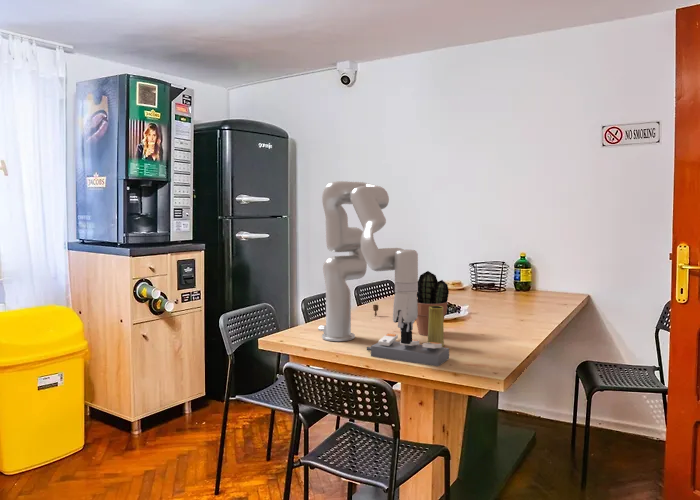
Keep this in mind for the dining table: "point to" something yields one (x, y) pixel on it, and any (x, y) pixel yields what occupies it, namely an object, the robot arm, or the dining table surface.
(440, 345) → the rocker right
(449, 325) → the dining table surface
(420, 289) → the potted plant
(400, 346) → the power strip
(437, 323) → the vase
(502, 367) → the dining table surface
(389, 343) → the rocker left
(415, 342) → the rocker mid
